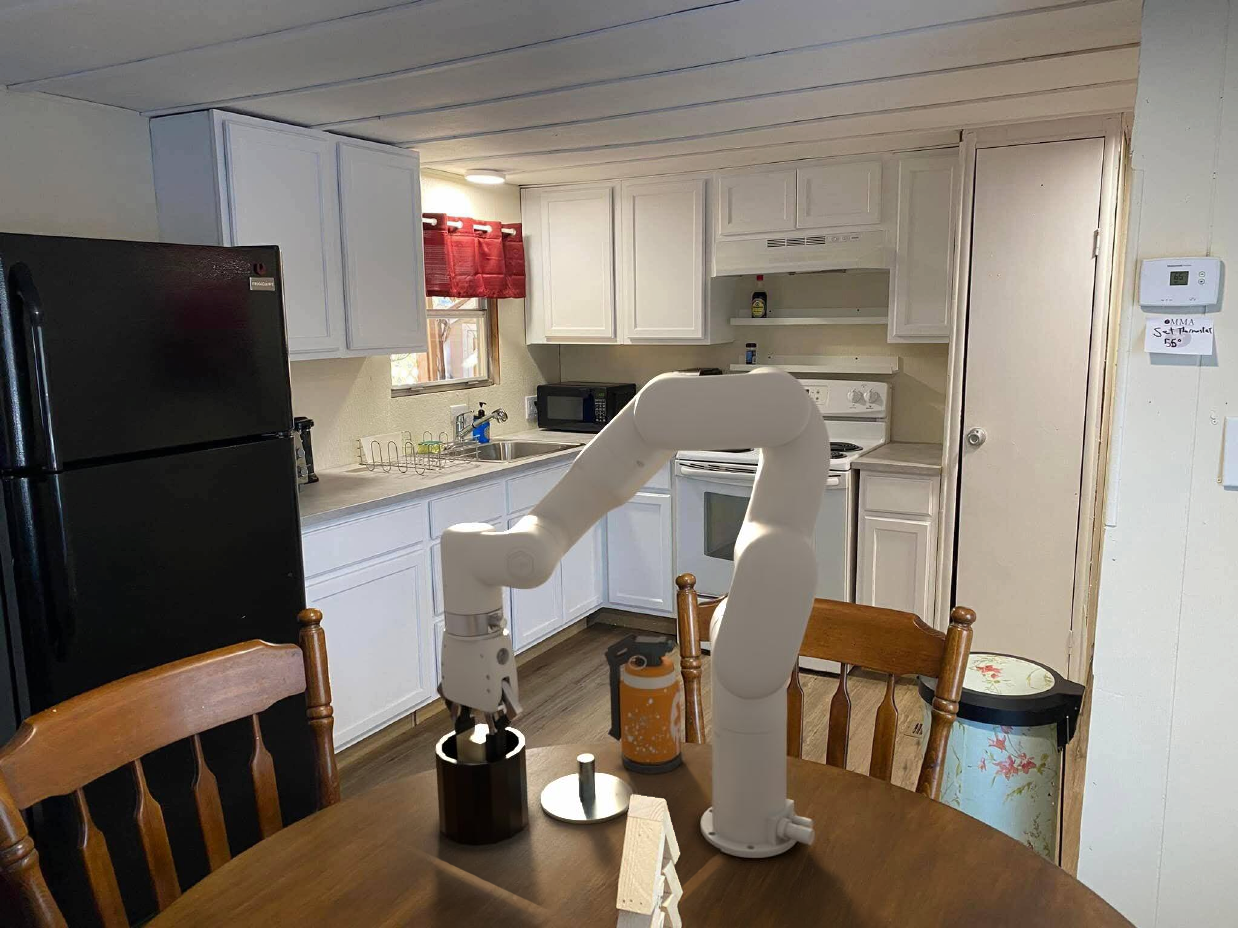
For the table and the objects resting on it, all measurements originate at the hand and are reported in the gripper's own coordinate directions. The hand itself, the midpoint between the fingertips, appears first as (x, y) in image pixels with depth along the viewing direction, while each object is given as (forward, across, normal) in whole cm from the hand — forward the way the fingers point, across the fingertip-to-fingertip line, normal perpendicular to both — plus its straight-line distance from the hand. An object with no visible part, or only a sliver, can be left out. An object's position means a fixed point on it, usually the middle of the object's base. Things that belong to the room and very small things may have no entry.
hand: (481, 751), depth 120 cm
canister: (+11, -8, -26) cm, 29 cm away
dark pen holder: (+10, 0, 0) cm, 10 cm away
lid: (+10, -8, -12) cm, 17 cm away
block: (+2, 0, 0) cm, 2 cm away
